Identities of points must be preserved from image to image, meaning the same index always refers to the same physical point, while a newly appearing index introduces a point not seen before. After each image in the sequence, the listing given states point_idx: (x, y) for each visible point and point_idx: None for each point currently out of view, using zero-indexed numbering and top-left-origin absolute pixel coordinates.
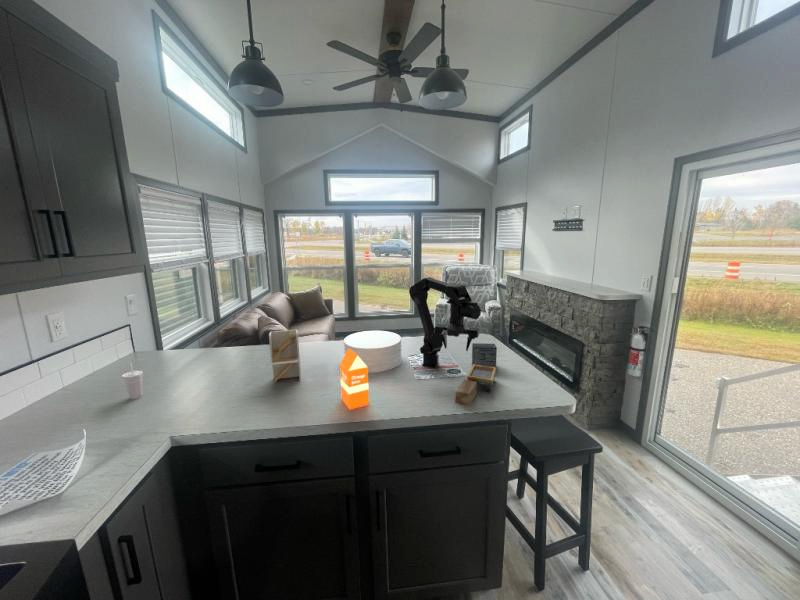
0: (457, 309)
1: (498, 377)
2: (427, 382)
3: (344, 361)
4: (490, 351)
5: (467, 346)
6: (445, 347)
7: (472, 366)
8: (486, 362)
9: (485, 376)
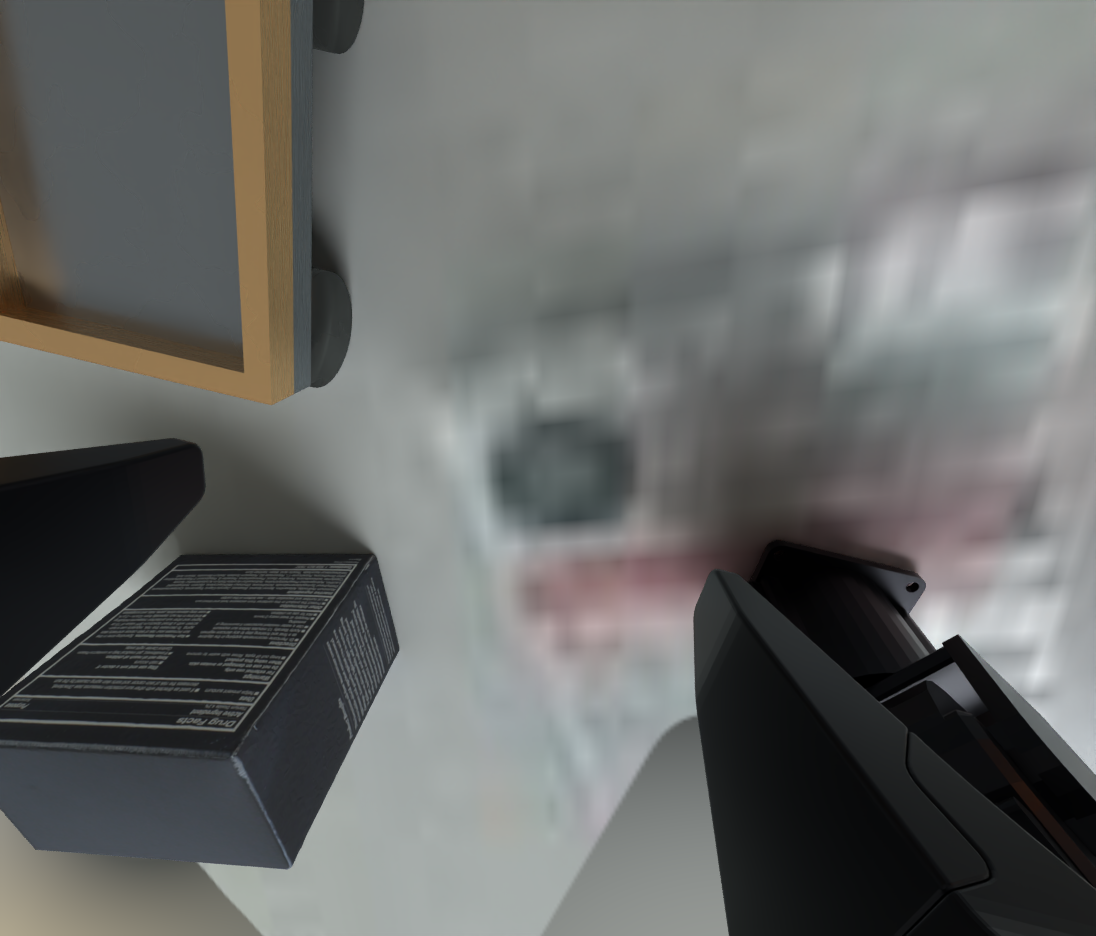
0: None
1: (116, 378)
2: (934, 78)
3: None
4: (69, 694)
5: (14, 469)
6: (734, 586)
7: (262, 321)
8: (217, 594)
9: (51, 46)
